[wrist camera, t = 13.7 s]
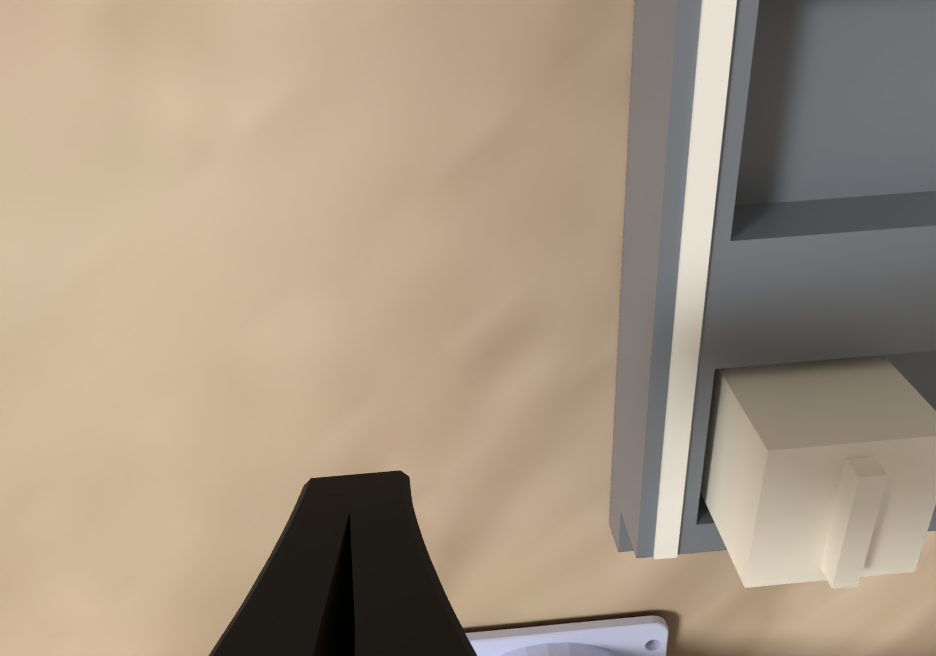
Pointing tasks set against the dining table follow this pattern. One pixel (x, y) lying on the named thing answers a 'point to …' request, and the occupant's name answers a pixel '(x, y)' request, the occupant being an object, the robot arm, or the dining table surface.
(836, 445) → the tab
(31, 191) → the dining table surface
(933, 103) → the switch bank
